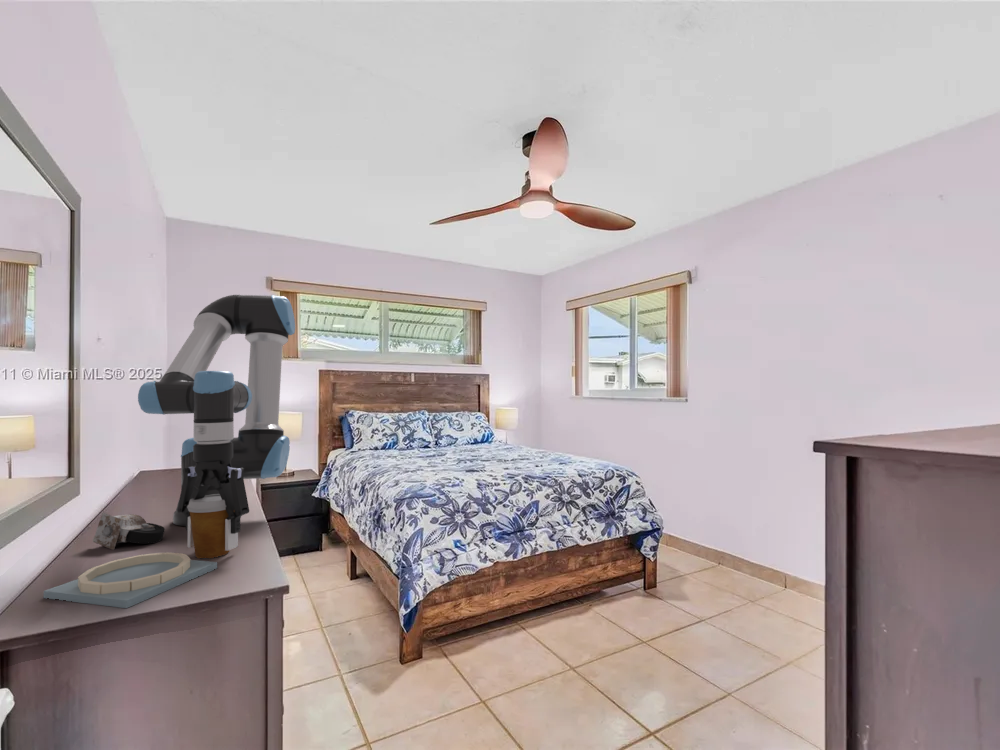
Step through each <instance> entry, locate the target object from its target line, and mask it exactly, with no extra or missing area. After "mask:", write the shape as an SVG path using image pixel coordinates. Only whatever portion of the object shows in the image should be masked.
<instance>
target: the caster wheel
mask: <svg viewBox="0 0 1000 750" xmlns="http://www.w3.org/2000/svg"><path fill="white" fill-rule="evenodd" d="M165 530H166V529H165V527H164V526H162V525H159V524H156V523H152V522H151V523H150V522H147V521H146V520H145V519H144V517H143V516H141V515H138V514H134V513H133V514H130V513H129V514H120V515H111V514H108V513H106V512H102V513H101V517H100V518H99V522H98V524H97V528H96V531H95V534H94V536H93V540H92V542H93V543H95V544H97V545H100V546H103V547H105V548H107V549H110V550H115V547H116V544H118V543H119V544H120V543H133V544H144V545H145V544H147V545H148V544H155V543H159V542H160V541H162V540H163V537H164V534H165Z"/></svg>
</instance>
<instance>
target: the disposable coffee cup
mask: <svg viewBox="0 0 1000 750" xmlns="http://www.w3.org/2000/svg"><path fill="white" fill-rule="evenodd" d="M187 508H188V511H189V512H190V519H191V527H192V534H193V542H194V546H193V548H194V554H195V556H196V557H197V558H196V557H195V556H194V557H195V558H196V559H200V558H209V559H215V558H219V557H218V556H220V557H223V556H225V555H228V554H229V553H230V550H228V551H226V550H225V519H226V518H227V517H229V516H228V513H227V511H226V505H225V500H222V499H221V496H220V494H212V495H205V497H204V498H200V499H197V500H194V498H192V499H190V501H189V505H188V506H187ZM234 512H235V511H234ZM228 552H229V553H228ZM222 555H223V556H222ZM214 557H215V558H214Z"/></svg>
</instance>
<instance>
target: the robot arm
mask: <svg viewBox="0 0 1000 750" xmlns="http://www.w3.org/2000/svg"><path fill="white" fill-rule="evenodd" d="M295 332H296V320H295V315H294V310H293V307H292V303H291V302H290V300H289V299H288V298H287V297H286V296H283V295H282V296H281V295H273V294H271V295H260V294H259V295H256V294H255V295H253V294H248V295H247V294H230V295H226V296H223V297H221V298H218V299H216V300H214V301H212V302H211V303H209V304H208V305H207V306H204V308H203V309H201V310H200V311H199V313H198V314H197V316H196V317H195V319H194V320H193V329H192V331H191V332H190V334H189V336H188V337H187V338H186V340H185V342H184V343H183V345H182V346H181V348H180V350H179V351H178V353H177V354H176V355H175V357H174V359H173V361H171V364H170V365H169V367H168V368H167V369H166V371H165V373H164V374H163V375H162V377H161V378H160V379H159V381H157V380H153V381H147V382H145V383H142V385H141V386H140V388H139V390H138V394H137V402H138V405H139V407H140V409H141V411H143V413H145V414H149V415H150V414H151V415H165V416H166V415H175V414H176V415H177V414H178V415H179V414H183V415H184V414H193V437H190V438H187V439H185V440H184V441H183V442H182V446H181V454H180V458H181V459H180V460H181V461H180V462H181V465H180V466H181V467H180V470H181V471H180V474H181V475H180V483H181V484H180V486H181V487H180V489H181V490H180V495H179V499H178V502H177V506H176V509H175V511H174V512H173V514H172V523H173V525H175V526H180V527H181V526H184V527H185V531H187V548H190V549H191V548H192V547H193V548H194V542H193V534H192V527H191V519H190V512H189V511H188V508H187V506H188V505H189V501H190V499H192V498H194V500H197V499H200V498H204V497H205V495H212V494H220V496H221V499H222V500H225V505H226V511H227V513H228V516H229V517H227V518H226V519H225V550H226V551H228V550H229V551H231V550H234V549H235V548H238V547H239V533H240V532H241V518H242V516H243V515H247V514H249V513H250V507H249V502H248V495H247V491H246V486H245V485H246V484H245V480H250V479H251V480H253V479H254V480H256V479H263V480H265V479H270V478H277V477H280V476H281V475H282V474H283V473H284V471H285V469H286V467H287V465H288V459H289V456H290V450H291V448H290V443H291V442H290V441H291V440H290V438H289V436H286V435H284V434H285V433H284V432H285V431H284V429H283V428H282V427H281V426H280V425H279V420H280V419H279V418H280V417H279V416H280V415H279V413H280V400H281V399H280V397H281V395H280V394H281V381H282V380H281V377H282V362H283V360H282V359H283V346H284V345H286V344H288V342H289V336H292V335H294V334H295ZM232 335H244V336H245V337H244V338H245V340H246V341H247V342H248V343H249V345H250V346H249V361H248V363H249V364H248V376H247V377H248V378H247V385H246V384H245V383H244V382H243V383H242V382H241V381H238V380H235V378H234V374H233V372H232V371H227V370H208V368H209V366H210V365H211V364H212V361H213V360H214V357H215V356H216V354H217V352H218V350H219V349H220V346H221V345H222V343H223V342H225V341H227V340H228V339H229V338H230V336H232ZM244 410H245V419H244V420H245V421H244V422H245V424H244V425H243V426H241V428H239V430H238V432H237V433H238V436H236V437H234V433H235V432H234V431H235V430H234V428H235V427H234V415H235V414H237V413H240V412H242V411H244ZM234 511H235V512H234Z"/></svg>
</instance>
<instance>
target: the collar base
mask: <svg viewBox="0 0 1000 750" xmlns="http://www.w3.org/2000/svg"><path fill="white" fill-rule="evenodd" d="M214 569H215V570H217V569H218V561H208V560H197V559H196V560H195V559H191V558H190V557H189V556H188V555H187V554H185V553H180V552H178V553H177V552H166V551H165V552H154V553H145V554H139V555H138V554H137V555H132V556H128V557H123V558H118V559H115V560H111V561H108V562H105V563H102V564H100V565H97V566H93V567H92V568H89V569H87V570H86V571H84V572H83V573H81V574H80V575H78V576H77V578H76V579H73V580H70V581H68V582H65V583H62V584H60V585H57V586H54V587H51V588H48V589H45V590H43V596H42V597H43V599H47V598H49V599H48V600H55V599H59V600H58V601H63V600H66V601H65V602H71V601H72V602H73V603H80V604H81V603H82V604H89V605H96V606H105V607H114V608H122V609H128V608H130V607H132V606H135V605H137V604H140V603H142V602H144V601H146V600H148V599H151V598H153V597H156V596H157V595H160V594H162V593H165V592H167V591H169V590H171V589H173V588H176V587H179V586H180V585H182V584H185V583H187V582H190V581H191V579H192V580H193V579H196V578H199V577H201V576H203V575H205V574H208V573H210V572H212V571H215V570H214ZM207 572H208V573H207ZM198 576H199V577H198ZM189 580H190V581H189Z"/></svg>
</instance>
